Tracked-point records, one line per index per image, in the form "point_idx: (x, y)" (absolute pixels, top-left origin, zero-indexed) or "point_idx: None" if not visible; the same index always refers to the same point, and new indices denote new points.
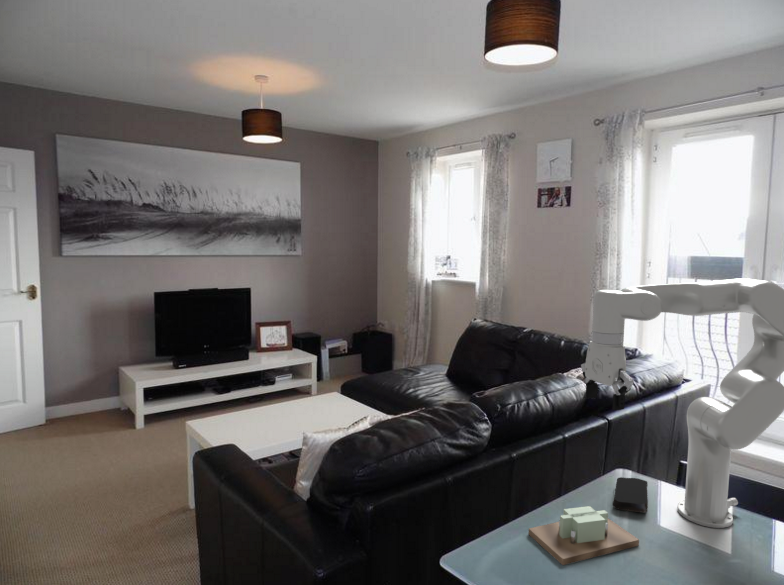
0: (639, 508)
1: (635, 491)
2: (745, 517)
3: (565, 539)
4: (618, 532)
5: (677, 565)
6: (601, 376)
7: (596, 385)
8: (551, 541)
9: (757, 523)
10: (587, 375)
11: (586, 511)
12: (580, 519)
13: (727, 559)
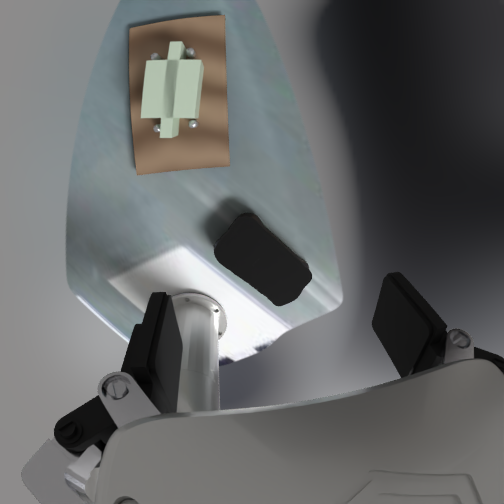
0: (217, 241)
1: (257, 268)
2: None
3: None
4: (162, 154)
5: (91, 195)
6: (279, 485)
7: (402, 371)
8: (175, 30)
9: None
10: (474, 373)
11: (177, 98)
12: (155, 70)
13: (97, 267)
